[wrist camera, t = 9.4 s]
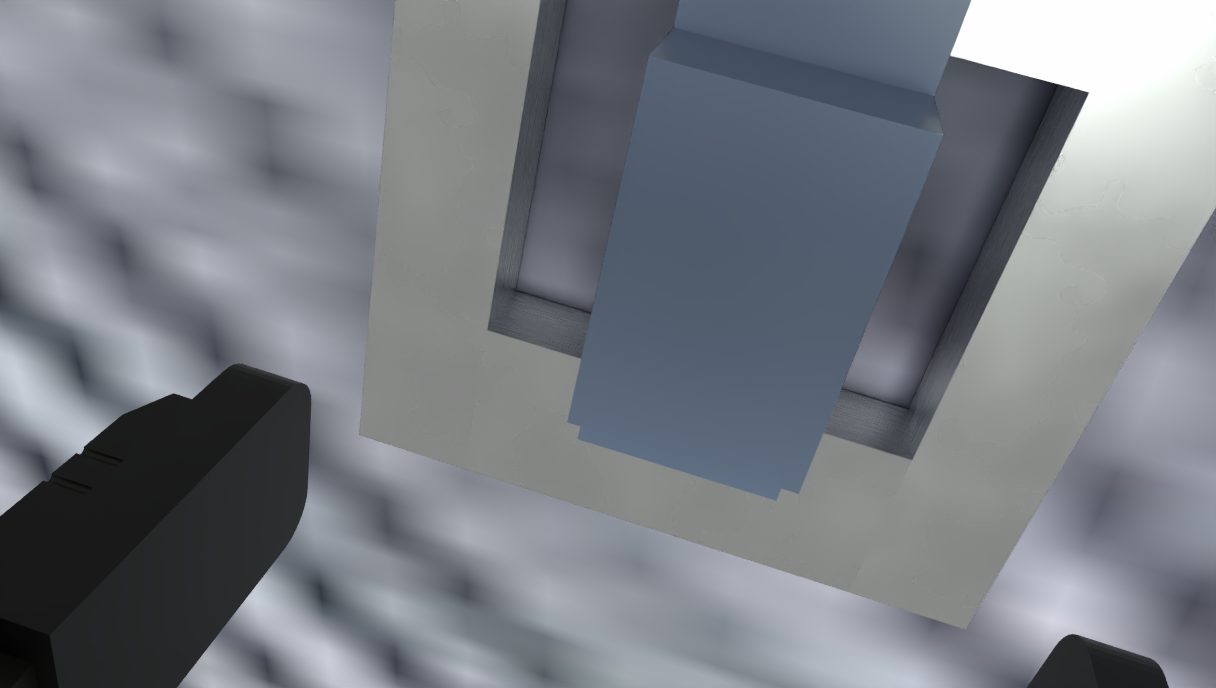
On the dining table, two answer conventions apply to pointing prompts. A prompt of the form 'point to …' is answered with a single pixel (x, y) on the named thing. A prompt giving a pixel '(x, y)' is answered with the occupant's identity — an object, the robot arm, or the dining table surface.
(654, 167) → the block
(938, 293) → the dining table surface
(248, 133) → the dining table surface
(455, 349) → the plate
